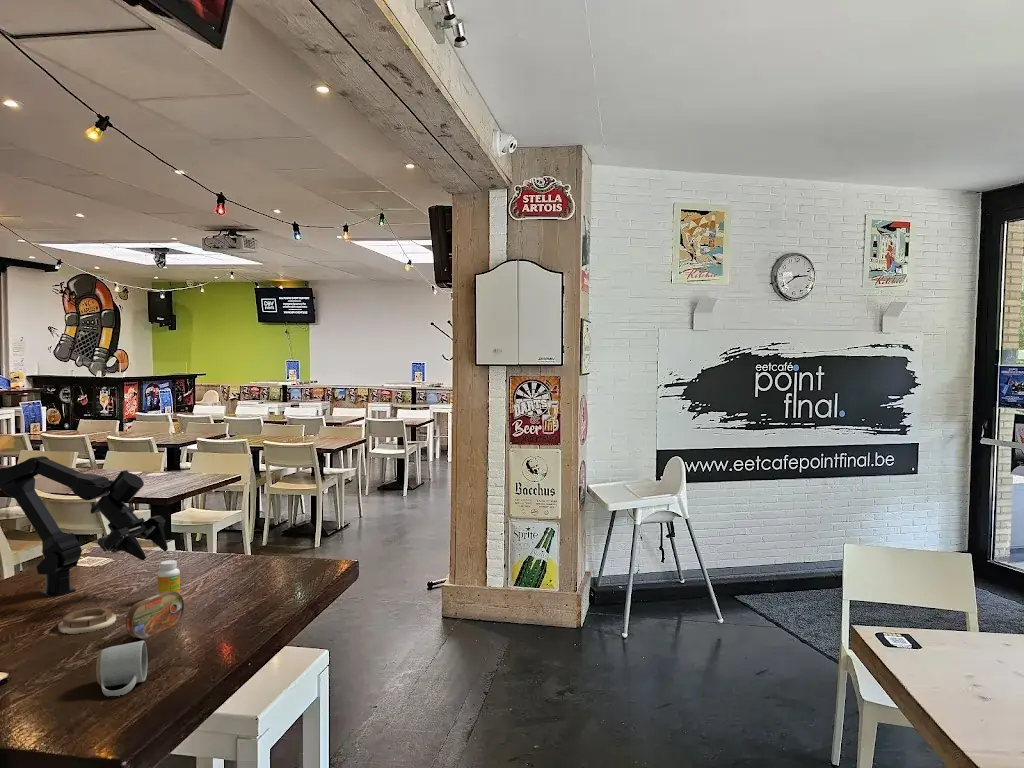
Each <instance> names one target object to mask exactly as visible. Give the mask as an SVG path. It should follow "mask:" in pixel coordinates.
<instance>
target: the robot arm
mask: <svg viewBox="0 0 1024 768" xmlns="http://www.w3.org/2000/svg"><path fill="white" fill-rule="evenodd" d="M39 475H40V476H42V477H44V478H47V479H48V480H51V481H53V482H55V483H56V482H57V484H61V485H63V486H66V487H67V488H69V489H70V490H71V491H72V493H73V494H74V495H75V496H76V497H78V498H80V499H81V500H83V501H92V500H95V499H99V498H100V499H99V500H97V502H92V503H91V504H90V505H91V508H90V515H93V514H96V513H101V514H102V515H103V517H104V518H105V519H106V520H107V521H108V524H107V527H108V529H109V530H110V533H109V534H107V535H106V536H104V537H100V538H99V539H98V541H97V544H98V546H99V548H100V549H101V550H103V552H111V553H113V554H115V553H117V552H126V553H127V554H129V555H131V556H134V557H135V558H137V559H138V560H141V561H145V559H147V557H146V554H145V552H144V550H143V549H142V547H141V545H140V543H139V541H138V540H137V538H136V536H137V535H141V537H144V540H145V541H146V540H147V541H151V542H153V543H154V544H155V545H156V546H158V547H159V548H160V550H162V551H163V552H167V551H168V550H169V548H168V547H169V546H168V543H167V539H166V534H165V528H164V526H165V522H166V519H165V518H164V517H163V516H162V515H154V516H151V517H149V518H148V519H147V520H146V519H144V517H141V518H139V517H138V516H137V515H136V514H135V513H134V511H135V510H136V509H135V508H134V506H132V507H131V506H130V507H128V506H127V504H126V503H125V502H128V503H129V502H130V501H132V499H133V498H134V497H135V496H136V495H137V494H138V493H139V492H140V490H142V488H143V487H144V485H145V483H144V480H143V479H142V478H141V476H138V475H136V474H135V473H133V472H132V473H131V472H129V471H128V470H127V469H126V470H121V471H120V472H119V473H118V474H117V477H116V478H114V480H110V479H109V478H108V477H106V476H104V475H99V474H94V473H83V472H81V471H77V470H75V469H73V468H71V467H68V466H66V465H63V464H61V463H59V462H56V461H54V460H52V459H50V458H48V457H47V456H44V455H41V456H33V457H29V458H28V459H26V460H24V461H22V462H19V463H16V464H14V465H11V466H6V467H1V468H0V490H1V491H2V492H3V493H4V494H6V495H7V496H9V497H11V498H13V499H14V500H15V501H16V502H17V504H18V505H19V507H20V508H21V510H22V512H23V513H24V515H25V517H26V518H27V519H28V521H29V523H30V524H31V526H32V527H33V529H34V530H35V531H36V534H37V535H38V536H39V538H40V540H41V541H42V547H41V549H42V550H41V552H42V555H43V557H44V558H43V559H42V560H41V561H40V562H39V563H38V565H37V566H36V571H37V574H38V575H45V589H43V590H41V591H40V594H42V595H45V596H46V597H47V596H48V597H49V598H53V597H56V596H61V595H64V594H68V593H72V592H76V591H77V589H76V588H74V587H72V586H71V568H75V567H77V566H78V563H79V560H80V559H81V556H82V553H83V551H82V547H81V545H82V543H81V542H79V540H78V539H77V537H76V535H75V534H74V533H73V532H71V533H65V532H63V531H62V530H61V528H60V527H59V525H58V523H57V522H56V521H55V519H54V517H53V516H52V515H51V513H50V511H49V510H48V508H47V506H45V503H44V502H43V500H42V499H41V497H40V496H39V494H38V493H37V491H36V489H35V486H36V478H35V477H37V476H39ZM145 521H146V522H145Z"/></svg>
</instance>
